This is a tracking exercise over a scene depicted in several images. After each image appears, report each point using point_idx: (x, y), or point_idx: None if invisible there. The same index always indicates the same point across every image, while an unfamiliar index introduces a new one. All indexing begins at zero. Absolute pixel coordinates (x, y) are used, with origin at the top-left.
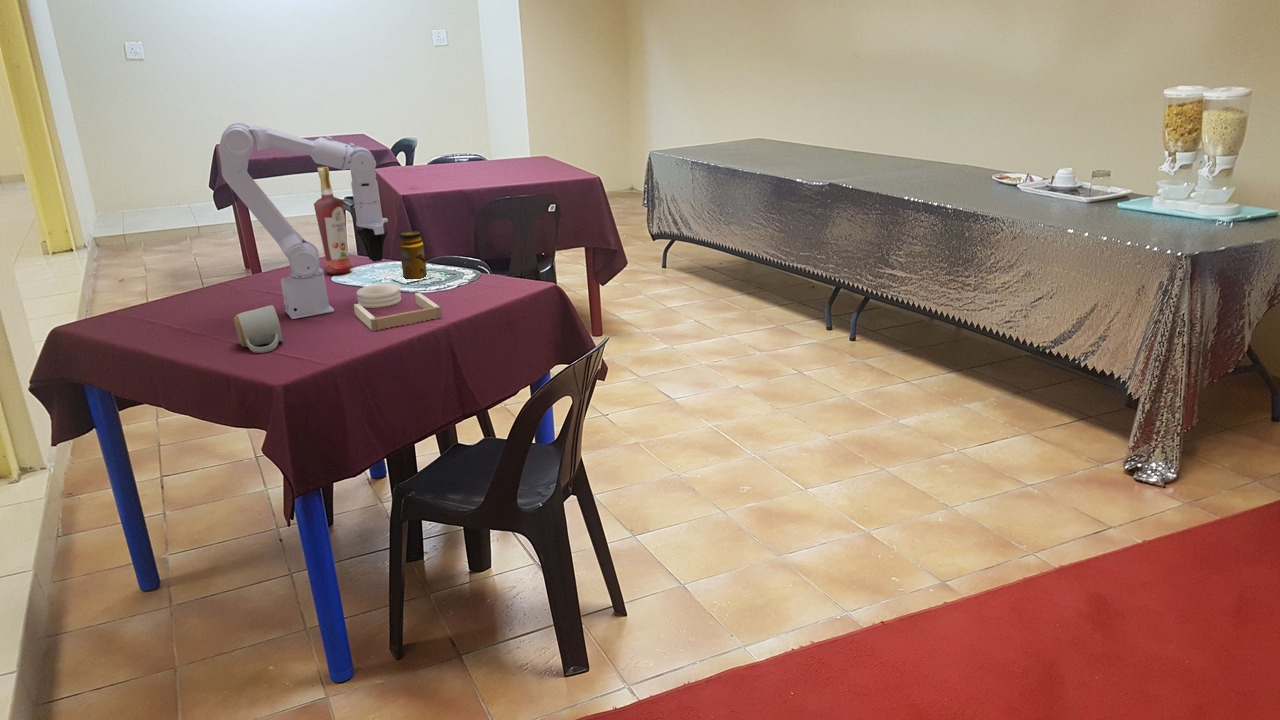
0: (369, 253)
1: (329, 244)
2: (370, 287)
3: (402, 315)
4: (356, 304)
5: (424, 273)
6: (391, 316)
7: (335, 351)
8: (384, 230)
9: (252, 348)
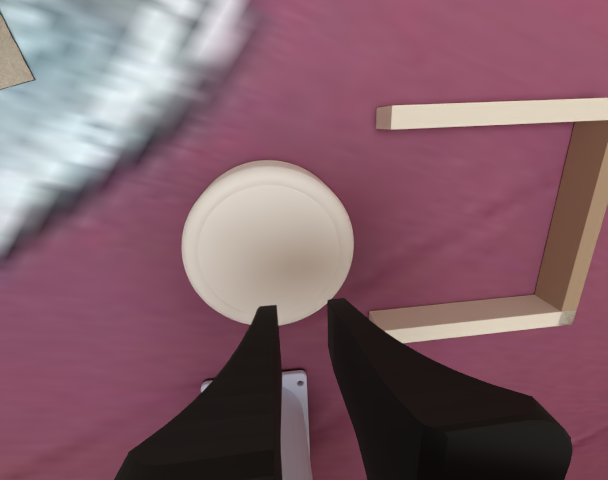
0: (344, 395)
1: None
2: (221, 275)
3: (594, 237)
4: None
5: None
6: (586, 270)
7: (600, 388)
8: (467, 443)
9: None
